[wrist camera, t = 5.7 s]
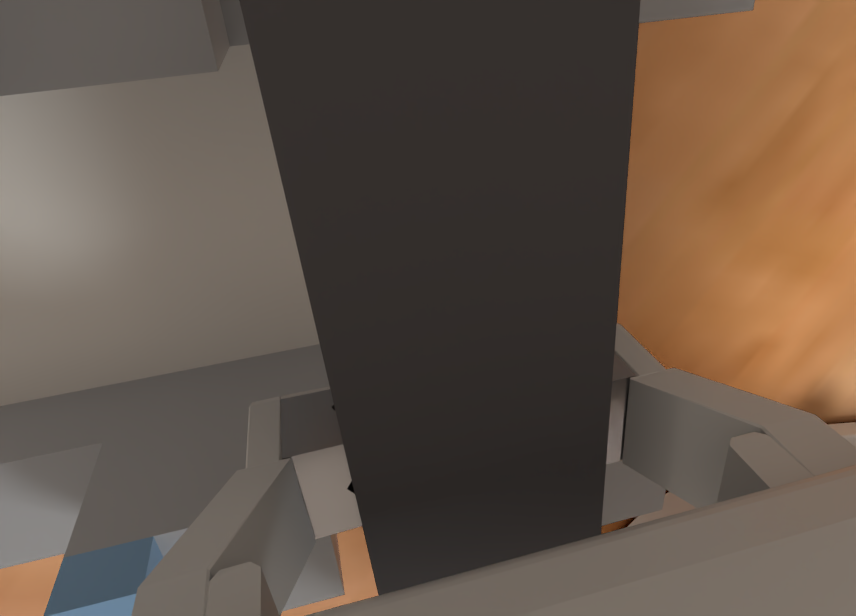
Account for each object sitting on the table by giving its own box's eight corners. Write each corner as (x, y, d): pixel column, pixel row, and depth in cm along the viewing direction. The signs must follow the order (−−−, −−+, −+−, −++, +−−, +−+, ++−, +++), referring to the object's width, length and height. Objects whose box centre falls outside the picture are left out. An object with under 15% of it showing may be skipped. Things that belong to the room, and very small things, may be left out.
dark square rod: (498, -391, 7) (693, -705, 4) (526, 631, 17) (582, 777, 14) (168, -382, 6) (67, -741, 3) (402, 668, 16) (433, 828, 13)
